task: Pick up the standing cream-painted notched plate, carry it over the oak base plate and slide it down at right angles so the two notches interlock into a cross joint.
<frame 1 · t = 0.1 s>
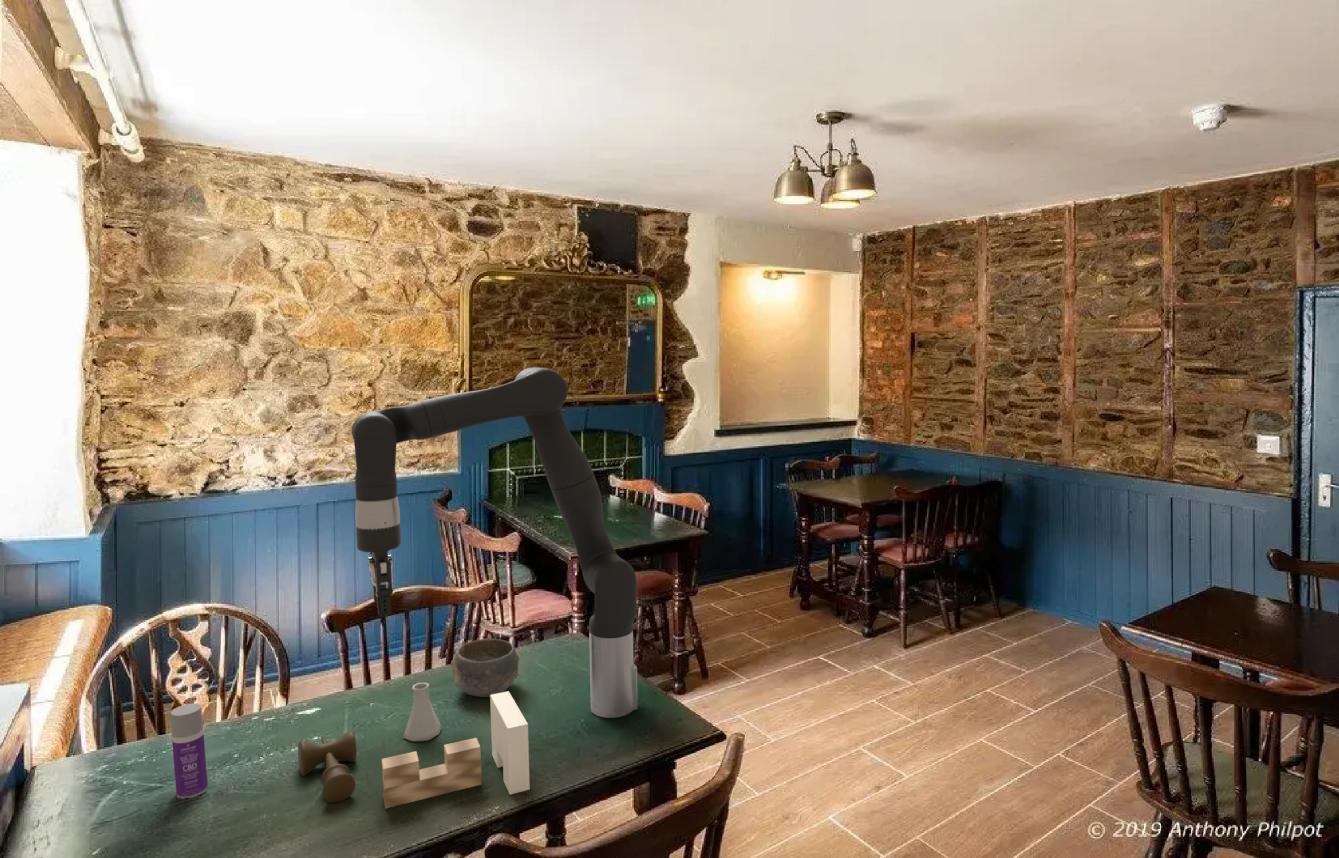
hand: (382, 608, 138), 29 cm above the table, fingers open, 8 cm apart
kendama: (331, 776, 136), on the table
flask: (422, 734, 151), on the table
cream plate: (510, 771, 137), on the table
bowl: (487, 692, 169), on the table
container: (192, 792, 131), on the table
oak base: (433, 790, 131), on the table
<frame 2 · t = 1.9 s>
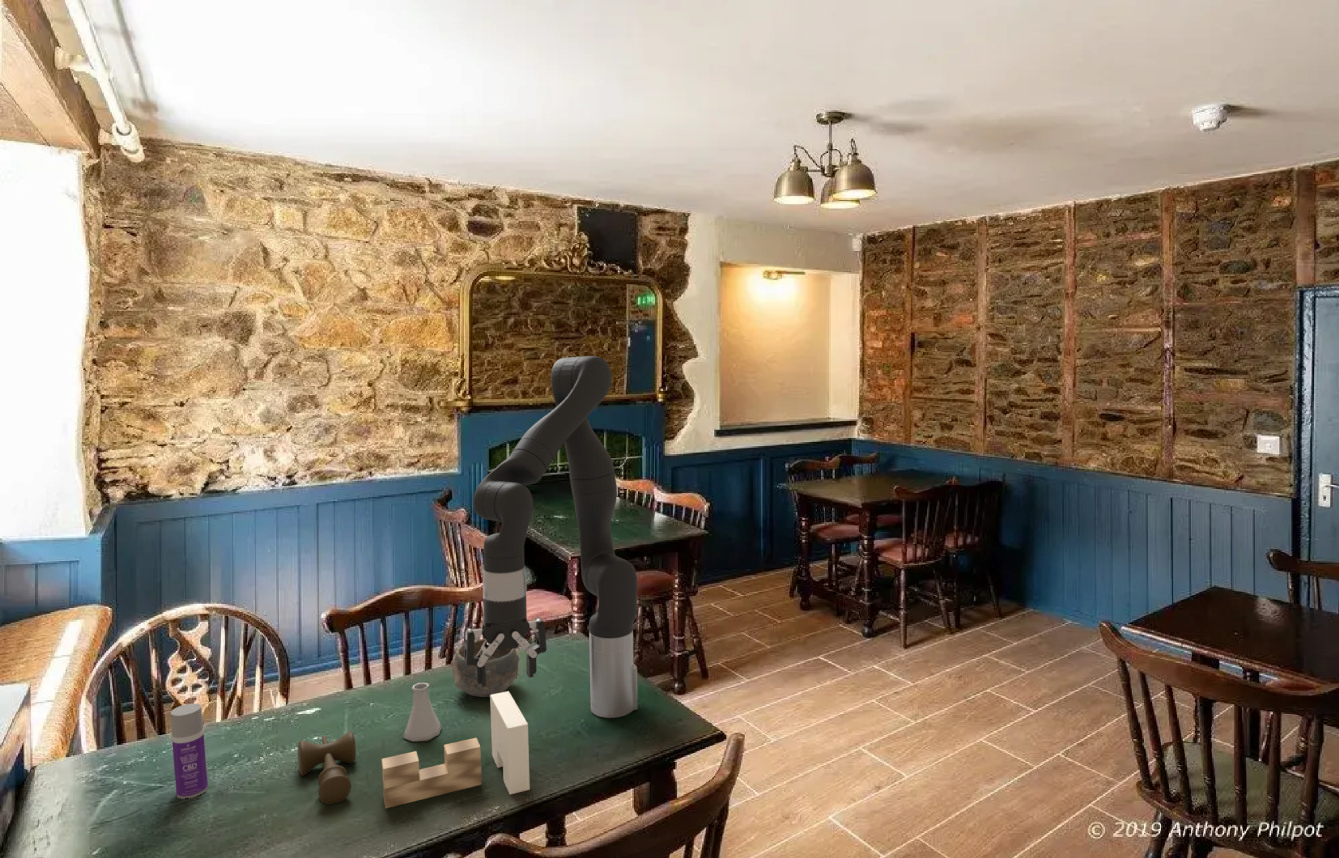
hand: (506, 680, 135), 17 cm above the table, fingers open, 8 cm apart
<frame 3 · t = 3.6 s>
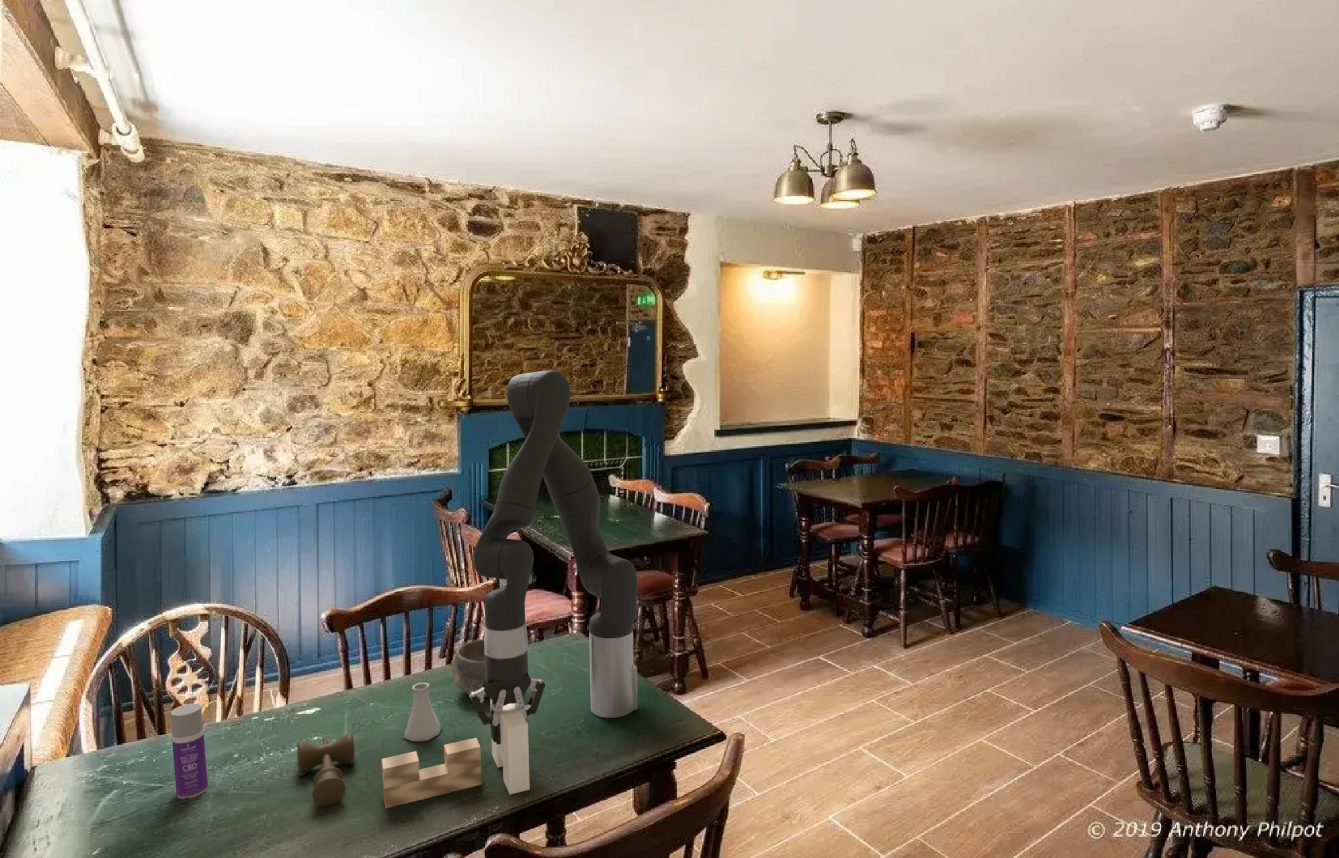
hand: (508, 739, 136), 6 cm above the table, fingers closed on cream plate, 3 cm apart
cream plate: (510, 771, 137), on the table, touching gripper
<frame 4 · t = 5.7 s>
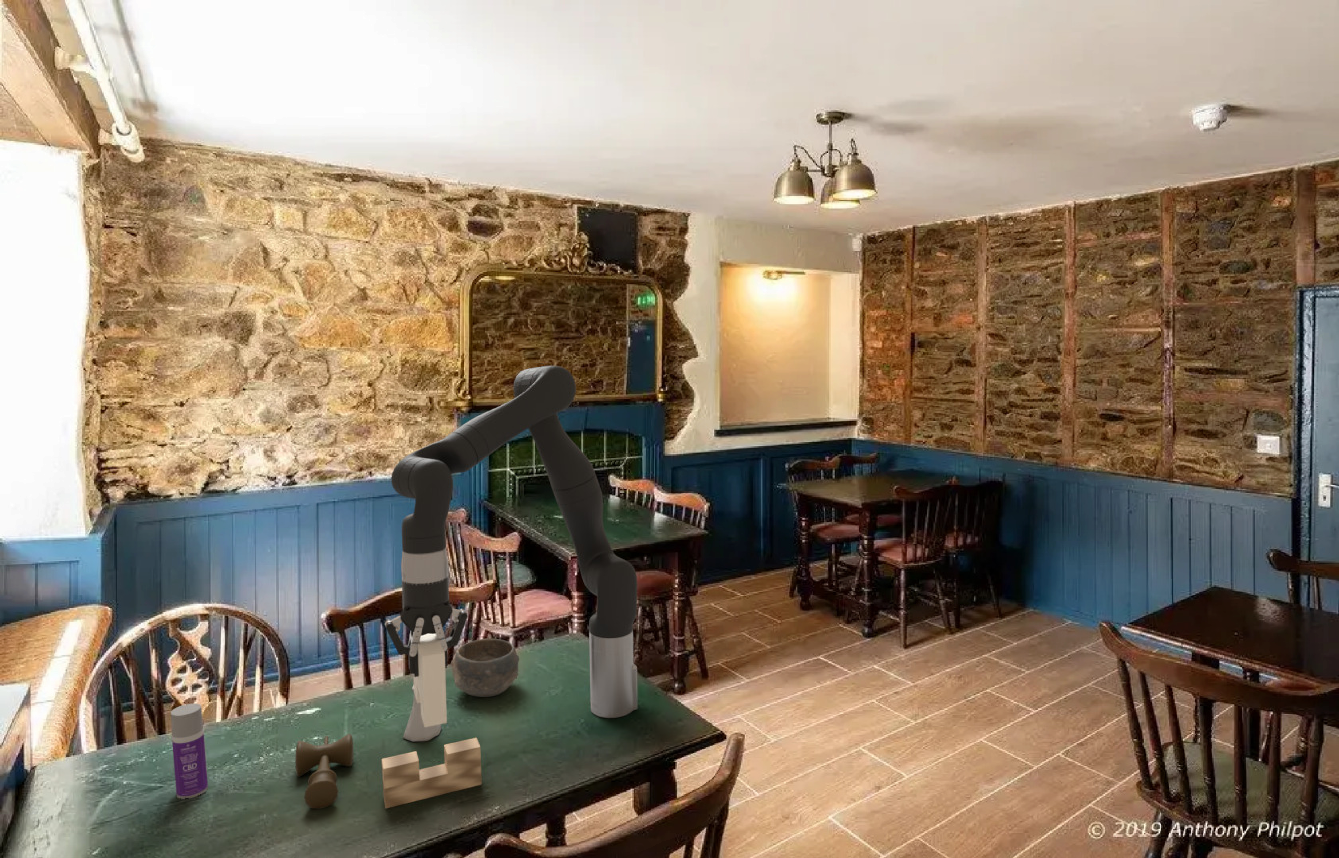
hand: (428, 672, 129), 21 cm above the table, fingers closed on cream plate, 3 cm apart
cream plate: (429, 706, 129), point 15 cm above the table, touching gripper
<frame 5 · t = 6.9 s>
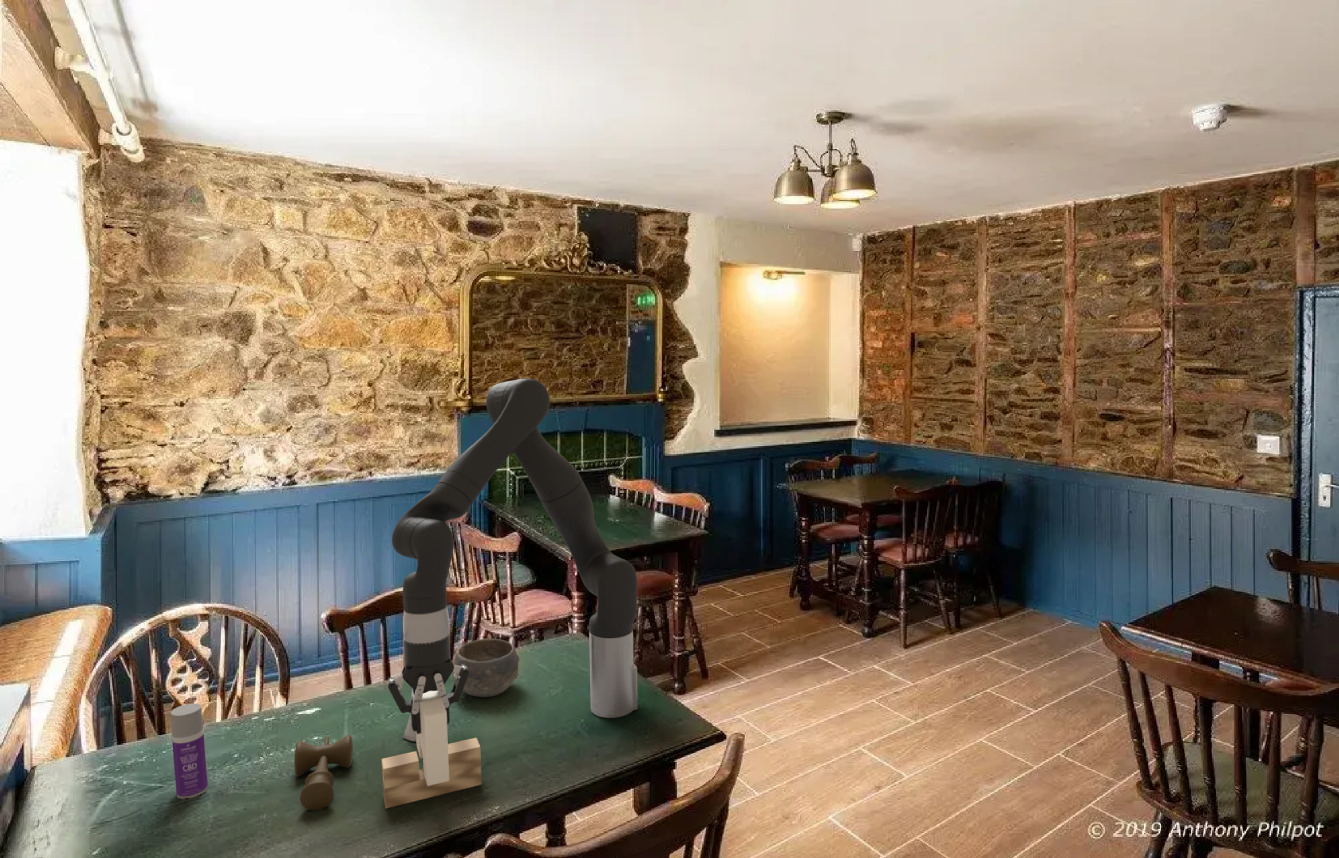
hand: (430, 728, 130), 11 cm above the table, fingers closed on cream plate, 3 cm apart
cream plate: (432, 762, 131), point 5 cm above the table, touching gripper
when the fingers open (8 cm above the table, at t = 7.9 s): cream plate drops 2 cm, resting on oak base.
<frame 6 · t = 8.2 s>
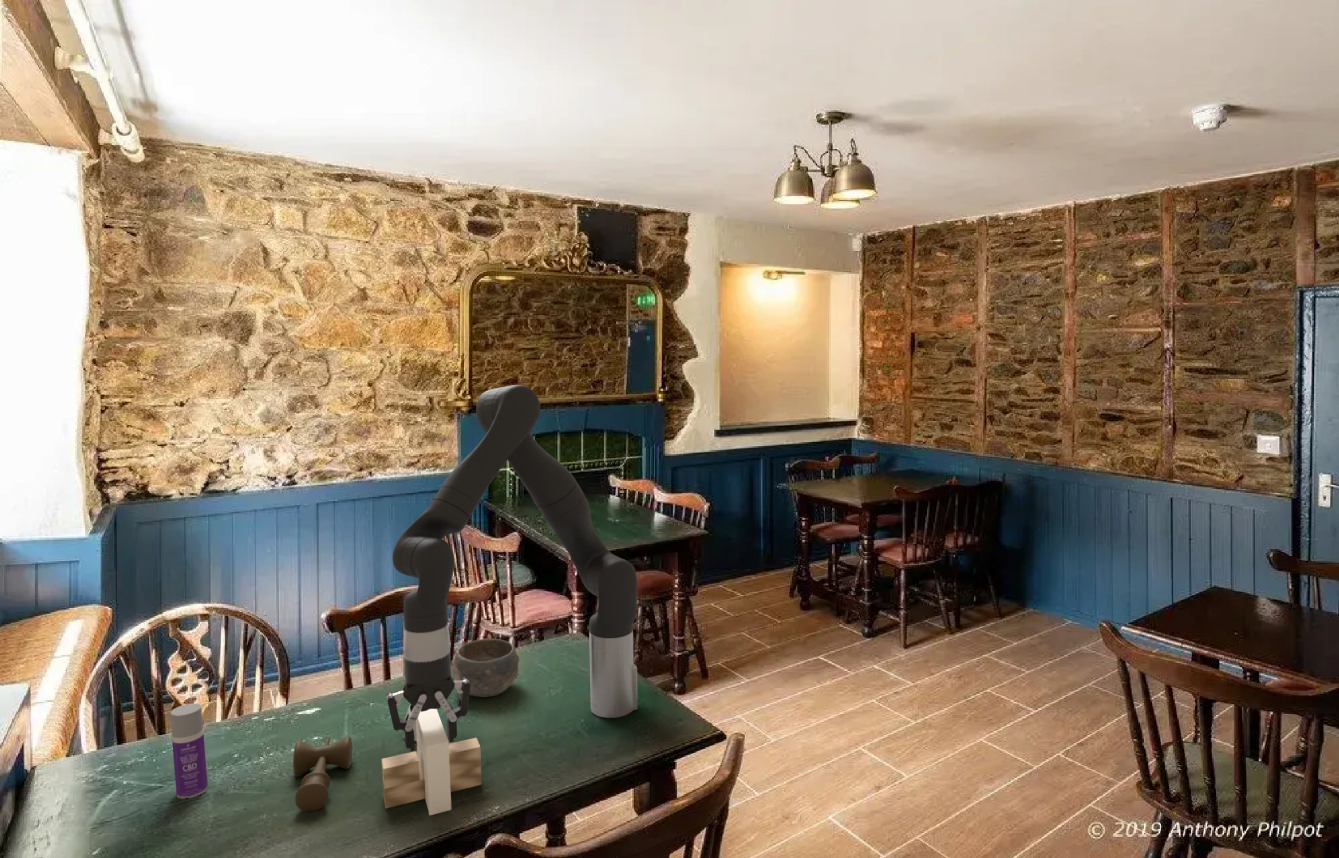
hand: (431, 744, 130), 9 cm above the table, fingers open, 6 cm apart
cream plate: (434, 790, 131), resting on oak base
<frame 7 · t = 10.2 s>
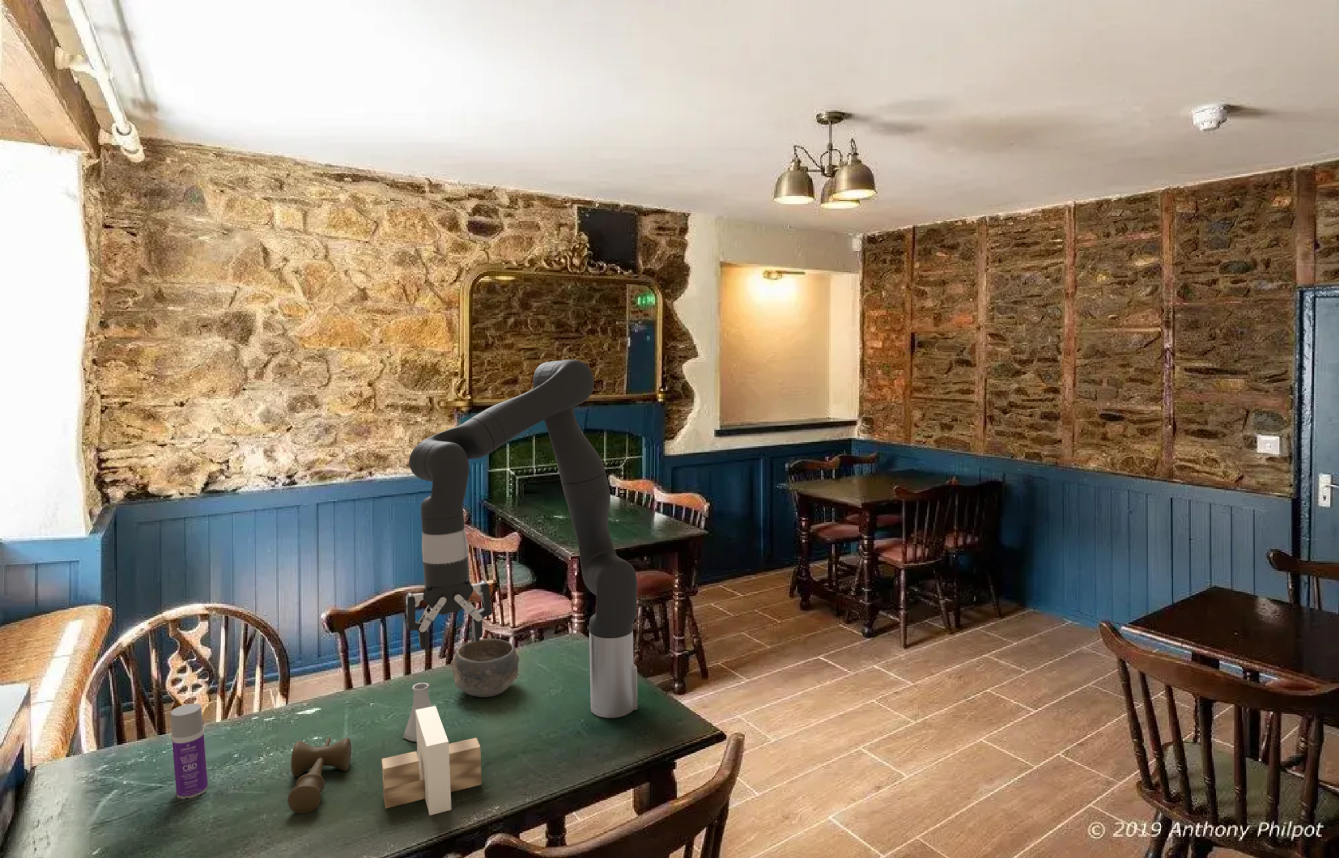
hand: (451, 645, 132), 25 cm above the table, fingers open, 8 cm apart
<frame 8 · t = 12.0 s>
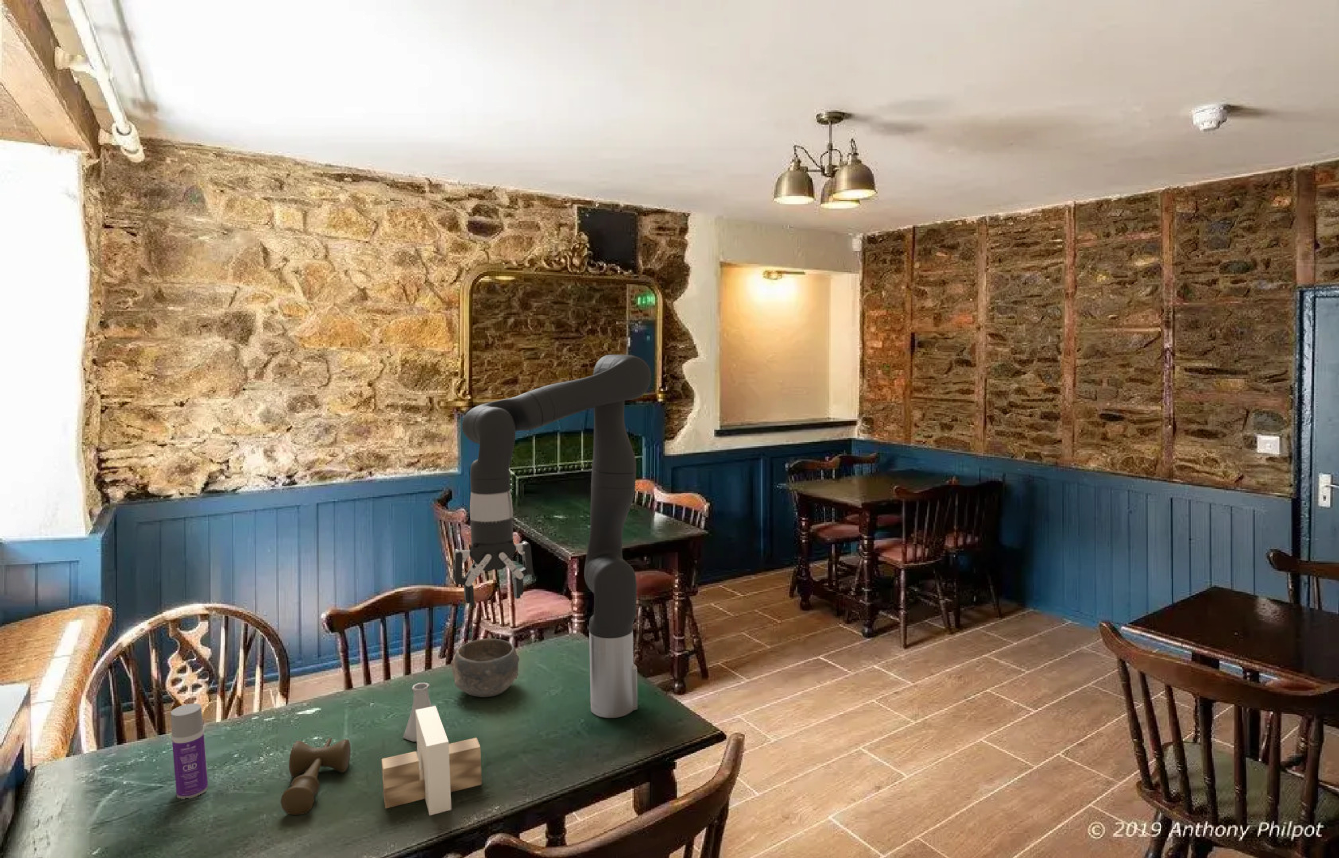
hand: (494, 601, 139), 30 cm above the table, fingers open, 8 cm apart
at the end: cream plate 0.1 cm off-centre on the oak base, point 0.0 cm above the oak base's base; cream plate tilted 0°; the gripper is holding nothing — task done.
